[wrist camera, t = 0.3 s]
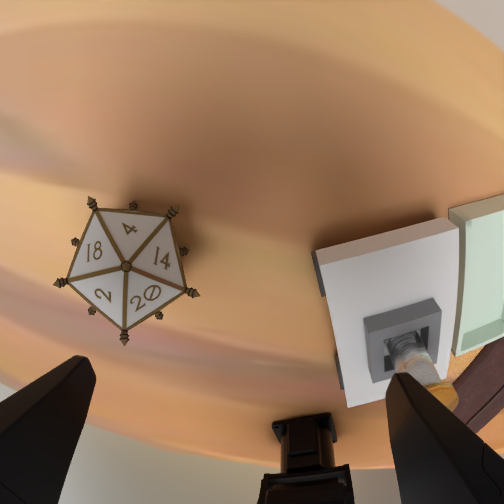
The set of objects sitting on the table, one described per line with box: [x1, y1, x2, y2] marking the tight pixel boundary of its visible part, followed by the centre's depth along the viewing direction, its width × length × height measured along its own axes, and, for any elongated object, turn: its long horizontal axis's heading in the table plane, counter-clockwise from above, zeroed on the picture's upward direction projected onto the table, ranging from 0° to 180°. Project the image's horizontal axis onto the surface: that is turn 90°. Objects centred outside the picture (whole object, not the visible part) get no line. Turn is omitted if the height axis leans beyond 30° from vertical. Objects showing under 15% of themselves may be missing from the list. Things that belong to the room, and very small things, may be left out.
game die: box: [53, 196, 200, 346], centre depth 18 cm, size 9×8×10 cm
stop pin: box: [384, 330, 459, 412], centre depth 16 cm, size 3×3×7 cm
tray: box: [449, 194, 504, 357], centre depth 20 cm, size 13×7×2 cm, turn 17°
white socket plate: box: [311, 217, 459, 408], centre depth 20 cm, size 14×10×6 cm
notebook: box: [452, 336, 504, 433], centre depth 27 cm, size 15×20×2 cm
